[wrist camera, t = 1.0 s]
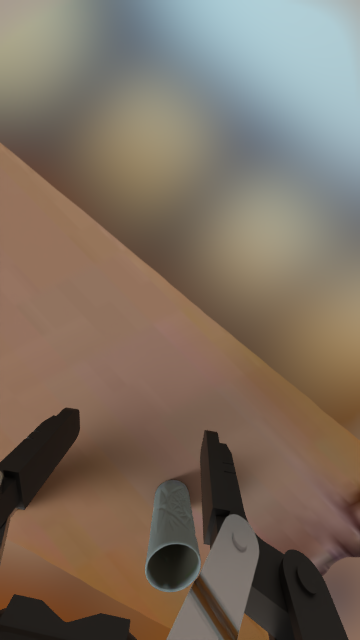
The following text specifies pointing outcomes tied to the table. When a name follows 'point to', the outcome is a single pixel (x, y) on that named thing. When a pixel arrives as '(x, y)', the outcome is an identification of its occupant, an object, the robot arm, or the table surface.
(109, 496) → the table surface
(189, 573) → the grey cup
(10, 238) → the table surface
